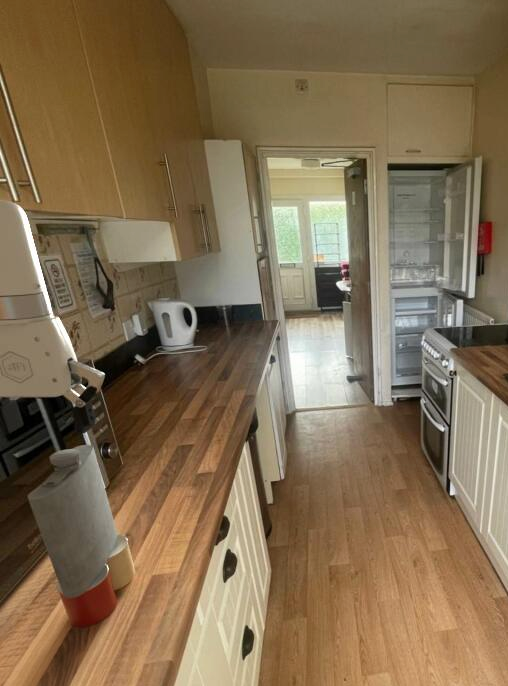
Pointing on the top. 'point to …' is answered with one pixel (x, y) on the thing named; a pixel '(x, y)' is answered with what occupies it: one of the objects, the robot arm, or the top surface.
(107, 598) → the can red
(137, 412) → the top surface
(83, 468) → the hip flask
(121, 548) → the can cream
